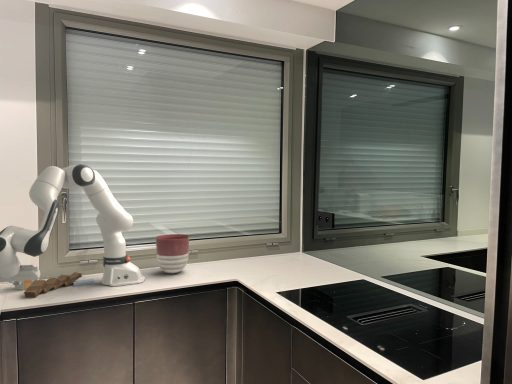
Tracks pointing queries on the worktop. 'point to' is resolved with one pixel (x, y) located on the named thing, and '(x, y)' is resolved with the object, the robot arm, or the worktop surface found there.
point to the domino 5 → (83, 282)
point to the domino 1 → (35, 288)
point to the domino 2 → (50, 284)
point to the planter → (172, 252)
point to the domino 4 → (72, 278)
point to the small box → (24, 285)
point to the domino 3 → (61, 281)
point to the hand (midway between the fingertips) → (17, 283)
